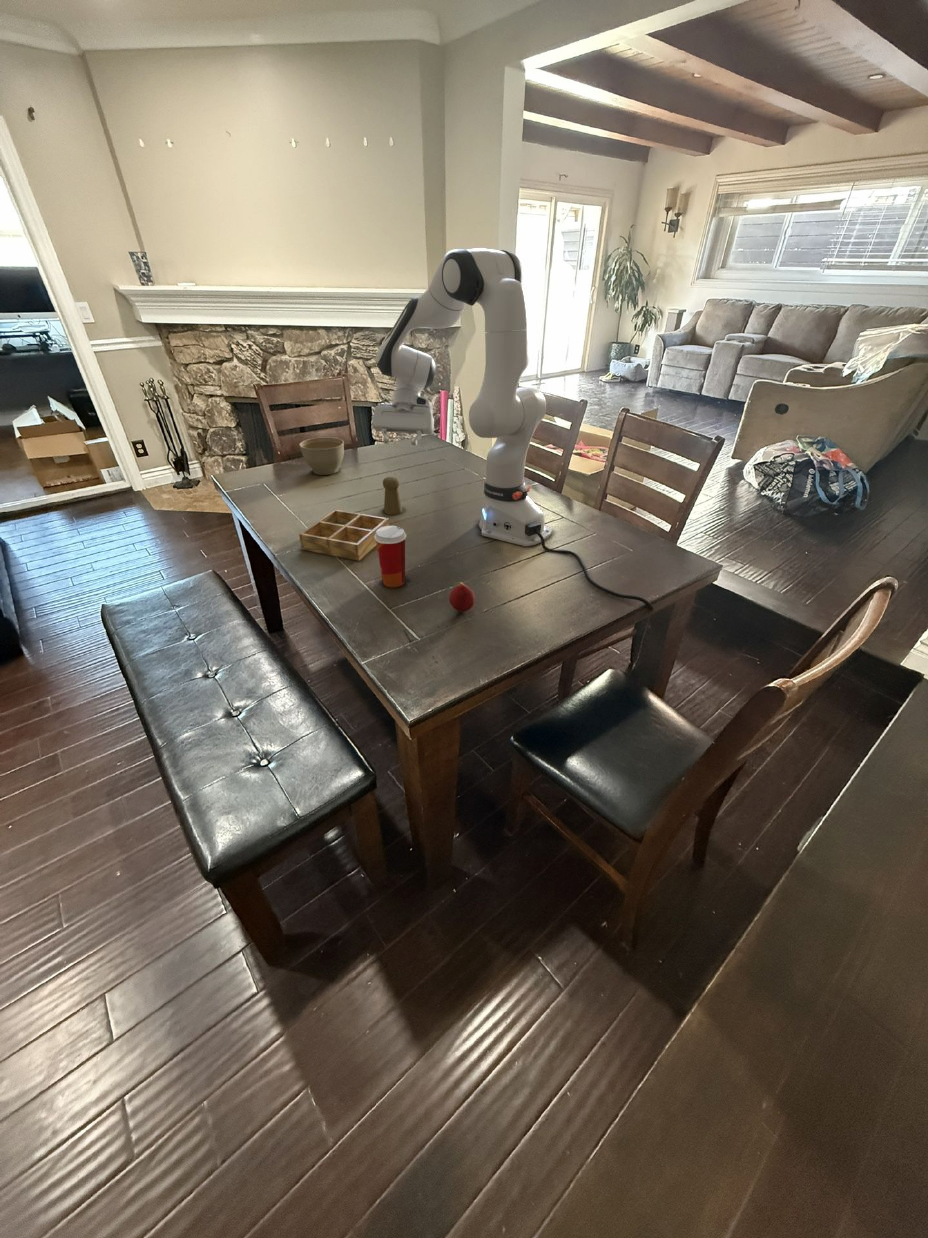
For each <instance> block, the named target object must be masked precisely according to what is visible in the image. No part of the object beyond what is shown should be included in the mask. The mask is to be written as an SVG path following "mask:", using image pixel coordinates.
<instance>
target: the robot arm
mask: <svg viewBox="0 0 928 1238" xmlns="http://www.w3.org/2000/svg"><path fill="white" fill-rule="evenodd" d="M522 282H523V266H522V263H521V260H520V258H519V257H518V256H517V255H516V254H514V253H513V252H510V251H508V250H504V249H501V250H498V249H490V248H489V249H488V248H485V247H478V248H477V247H476V248H470V249H467V248H466V249H465V248H461V249H452V250H449V251H448V252H446V254H444V256H443V257H442V258H441V260H440V262H439V264H438V266H437V268H436V269H435V271H434V273H433V275H432V277H431V280H430V282H429V285H428V287H427V289H426V290H425V291H424V292H423V293H422V294H420V295H419V296H415V297H412V298H411V299H410V300H409V301H408V302H407V304H406V305H405V306H404V309H403V310H402V312H401V313H400V315H399V316H398V318H397V320H396V321H395V323H394V325H393V326H392V328H391V330H390V331H389V334H388V335H387V337H386V338H385V339H384V340H383V342H382V343H381V345H380V346H379V348H378V350H377V353H376V357H375V359H376V360H375V361H376V362H375V364H376V366H377V369H378V370H379V371H380V373H381V374H382V375H384V376H387V377H391V378H395V379H396V380H395V381H396V383H395V384H396V388H395V390H394V393H393V394H394V395H393V398H392V399H393V401H392V403H384V402H383V403H379V404H377V405H375V407H374V411H373V413H374V414H373V417H372V420H371V425H372V427H373V430H375V432H381V434H382V436H383V439H382V442H383V444H386V445H387V444H388V445H389V444H390V438H389V436H387V435H388V433H399V434H401V433H402V434H413V435H414V434H415V437H412V438H411V442H410V443H411V446H418V442H419V440H420V439H422V436H423V435H432V434H433V433H434V429H435V420H434V419H435V418H434V416H433V414H434V410H433V405H432V402H431V401H430V400H429V399H428V398H424V397H423V396H421V394H422V391H424V390H427V389H428V388H430V387H431V386H432V385H433V382H434V380H435V374H436V367H437V365H436V361H435V359H434V357H433V356H432V355H430V354H428V353H426V352H423V351H420V350H417V349H414V348H412V347H410V346H407V345H404V344H403V343H404V342H405V340H406V338H407V337H408V335H409V334H410V333H411V331H413V330H415V329H436V330H442V329H447V328H451V327H452V326H454V325H455V324H456V323H457V322H458V321H459V320H460V318H461V317H462V315H463V313H464V311H465V309H466V307H467V305H469V306H471V307H473V306H475V304H477V303H478V304H479V305H480V306H481V309H482V310H483V315H484V343H485V348H484V349H485V366H484V367H485V368H484V374H483V379H482V383H481V386H480V388H479V392H478V394H477V396H476V397H475V400H474V401H473V402H472V404H471V405H470V407H469V410H468V423H469V427H470V428H471V430H472V432H473V433H474V435H476V436H477V437H479V438H482V439H495V441H494V443H493V444H492V446H491V447H490V448H489V450H488V452H487V453H486V464H485V465H486V467H485V468H486V469H485V480H484V485H483V494H484V501H483V508H482V513H481V518H480V520H479V523H478V527H479V529H480V530H481V533H480V534H481V536H483V537H486V538H490V539H495V540H499V541H503V542H506V543H511V544H515V545H518V546H523V547H530V546H535V545H538V544H541V547H542V549H543V550H545V551H546V552H549V553H557V554H566V555H570V556H573V557H574V558H575V559H576V560H577V562H578V564H579V566H580V568H581V569H582V571H583V573H584V576H585V578H586V580H587V582H589V583H590V585H592V586H593V587H595V588H596V589H598V590H600V591H602V592H604V593H606V594H609V595H611V596H613V597H616V598H619V599H621V598H622V599H626V600H627V599H628V600H635V601H639V602H641V603H643V604H644V605H645V606H647V608H648V609H649V610H652V611H653V610H654V607H653V605H652V604H651V602H649V601H648V600H647V599H645V598H644V597H641V596H638V595H634V594H633V595H632V594H623V593H619V592H616V591H615V590H614V591H613V590H612V589H609V588H606V587H604V586H602V585H599V584H598V583H596V582H595V580H593V579H592V578H591V576H590V574H589V571H588V569H587V567H586V566H585V564H584V562H583V559H581V557H580V556H579V554H577V553H576V552H574V551H571V550H564V549H551V548H549V547H548V546H546V543H545V542H546V540H547V539H549V537H550V536H551V535H552V528H551V527H549V526H547V525H545V515H544V512H543V511H542V510H541V509H540V507H538V506H537V504H536V503H535V502H534V501H533V499H531V498H530V497H529V494H528V493H529V492H531V489H532V487H531V486H529V487H527V486H526V482H525V480H524V479H525V471H526V461H527V455H528V451H529V448H530V444H531V441H532V439H533V436H534V434H535V432H536V429H537V428H538V427H539V424H540V423H541V422H542V420H543V419H544V418H545V416H546V413H547V401H546V398H545V396H544V394H543V393H542V392H541V391H540V390H539V389H537V388H533V387H526V386H525V387H524V386H521V387H518V385H519V382H520V379H521V377H522V375H523V373H524V371H525V370H526V369H527V368H528V365H529V361H530V354H529V353H530V330H529V329H530V327H529V325H530V322H529V321H530V319H529V310H528V309H529V307H528V299H527V294H526V290H525V286H524V285H523V284H522Z"/></svg>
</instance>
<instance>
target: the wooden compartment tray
mask: <svg viewBox="0 0 928 1238" xmlns="http://www.w3.org/2000/svg"><path fill="white" fill-rule="evenodd" d="M385 526H390V518H389V517H382V516H377V515H370V514H366V513H365V514H364V513H359V512H352V511H346V510H340V509H333V510H332V511H330V512H329V513H328V514H326V515H325V516H323V517H322V518H320V519H319V520H317V521H316V522H314V523H313V524H311V525H310V526H309V527H307V528H306V529H303V530H302V531H301V532H300V533H299V534H298V537H299V542H300V546H301V551H302V550H303V551H308V552H311V553H318V554H322V555H327V556H328V555H329V556H333V557H337V558H338V557H339V558H343V559H349V560H355V561H359V562H360V561H361V560H362V559H363V558H364V557H365V556H366V555H367V554H369V553H370V552H371V551H372V550H373V549H375V547H377V543H376V540H375V539H374V536H375V534H376V531H377V530H378V529H379V528H381V527H385Z"/></svg>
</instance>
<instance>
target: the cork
mask: <svg viewBox="0 0 928 1238" xmlns="http://www.w3.org/2000/svg"><path fill="white" fill-rule="evenodd" d="M382 486H383V488H384V500H383V503H384V504H383V513H385V514H387V515H399V514H401V513H403V506H402V501H401V496H400V492H399V487H400V480H399V478H398V477H397V476H396V477H395V476H387V477H384V479H383V480H382Z"/></svg>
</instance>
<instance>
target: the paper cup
mask: <svg viewBox="0 0 928 1238" xmlns="http://www.w3.org/2000/svg"><path fill="white" fill-rule="evenodd" d="M374 539H375V540H376V543H377V545H376V548H377V549H376V550H377V555H378V561H379V568H380V573H381V578H382V583H383V585H384V586H385V587H387V588H398V587H401V586H403V585H404V584H405V582H406V539H407V534H406V532H405V530H404V528H402V527H399V526H397V525H389V526H385V527H381V528H379V529H378V530H377V531H376V534H375V536H374Z"/></svg>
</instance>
